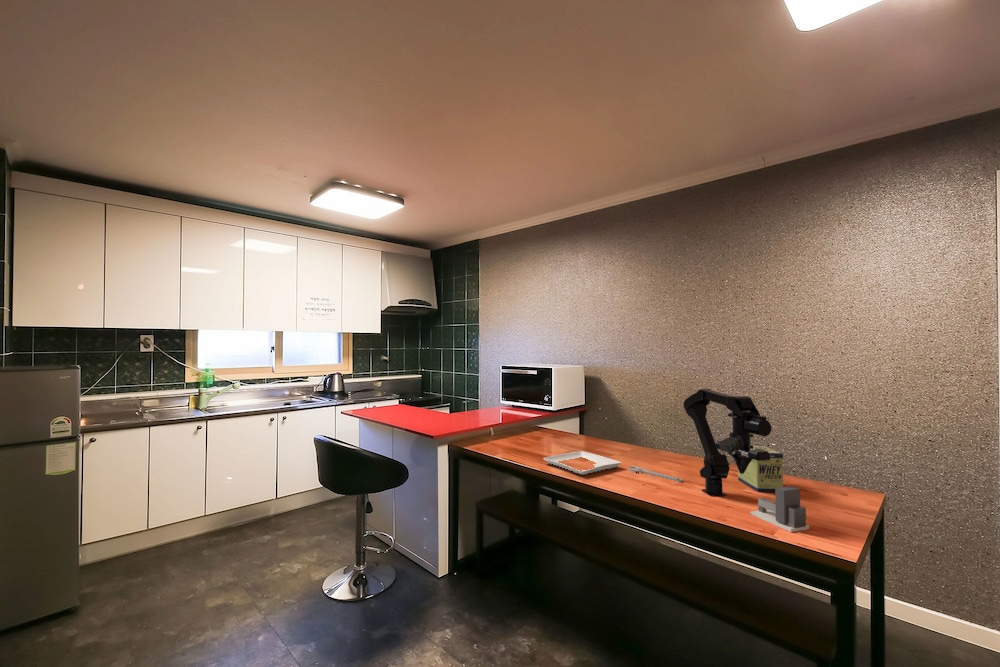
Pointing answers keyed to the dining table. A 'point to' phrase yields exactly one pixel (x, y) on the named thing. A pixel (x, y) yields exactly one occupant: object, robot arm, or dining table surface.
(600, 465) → the square plate
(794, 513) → the grey block cluster
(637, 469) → the adjustable wrench
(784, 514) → the tall gray block
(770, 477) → the protein box
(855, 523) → the dining table surface
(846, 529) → the dining table surface
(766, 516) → the white board
